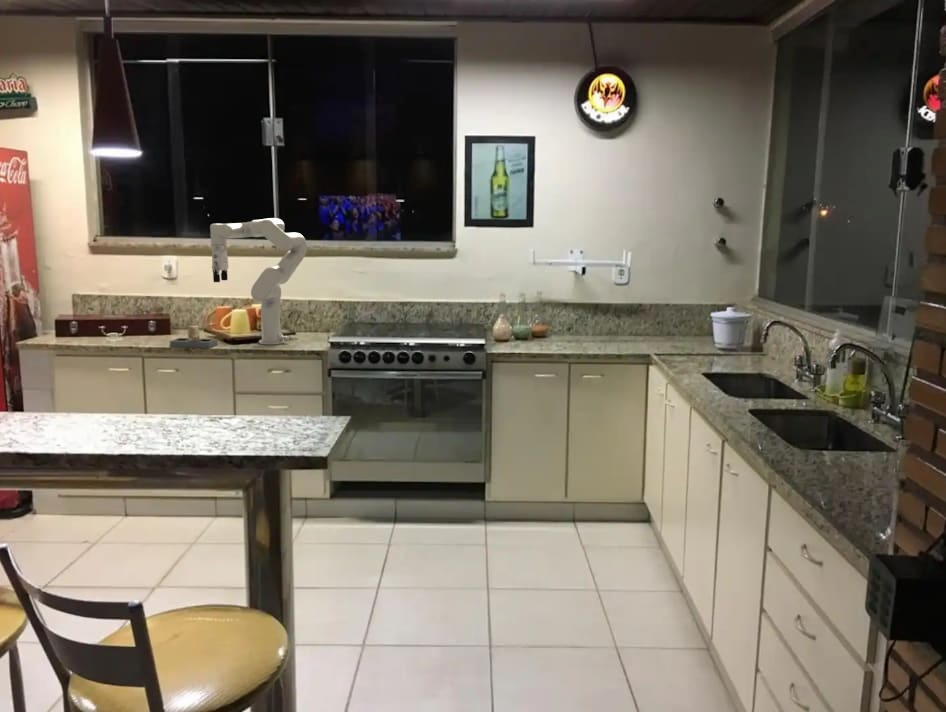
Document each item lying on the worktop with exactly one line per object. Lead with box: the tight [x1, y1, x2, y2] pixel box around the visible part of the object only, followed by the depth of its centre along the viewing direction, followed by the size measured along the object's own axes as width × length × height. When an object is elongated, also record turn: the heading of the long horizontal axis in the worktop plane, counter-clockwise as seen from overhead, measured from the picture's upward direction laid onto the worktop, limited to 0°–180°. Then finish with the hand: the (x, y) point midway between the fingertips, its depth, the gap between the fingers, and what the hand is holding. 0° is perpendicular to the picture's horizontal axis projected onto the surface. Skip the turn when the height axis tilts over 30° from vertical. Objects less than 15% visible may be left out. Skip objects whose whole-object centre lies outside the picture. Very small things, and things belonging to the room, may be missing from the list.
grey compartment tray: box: [169, 337, 219, 349], centre depth 383 cm, size 20×10×3 cm, turn 85°
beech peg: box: [187, 324, 201, 341], centre depth 383 cm, size 4×4×10 cm
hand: (220, 281), depth 398 cm, fingers open, 9 cm apart
